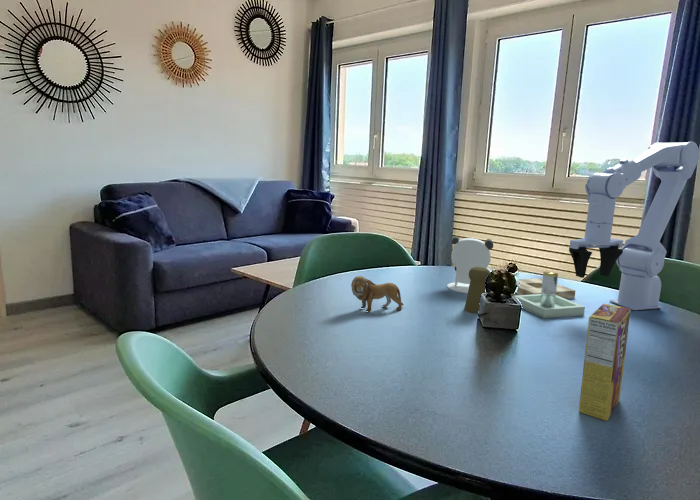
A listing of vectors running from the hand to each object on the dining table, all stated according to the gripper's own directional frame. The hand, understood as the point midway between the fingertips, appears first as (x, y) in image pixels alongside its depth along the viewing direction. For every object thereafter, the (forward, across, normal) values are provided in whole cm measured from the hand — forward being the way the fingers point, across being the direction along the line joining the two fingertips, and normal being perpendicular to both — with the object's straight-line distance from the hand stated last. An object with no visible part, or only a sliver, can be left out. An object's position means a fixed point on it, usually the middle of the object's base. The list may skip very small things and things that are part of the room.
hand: (592, 276), depth 117 cm
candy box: (+10, +35, +39) cm, 53 cm away
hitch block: (+9, +1, -18) cm, 20 cm away
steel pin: (+9, +9, -4) cm, 13 cm away
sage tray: (+9, +9, -4) cm, 14 cm away
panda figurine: (+10, +19, -26) cm, 34 cm away
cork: (+10, +28, -7) cm, 30 cm away
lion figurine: (+10, +53, -12) cm, 55 cm away
